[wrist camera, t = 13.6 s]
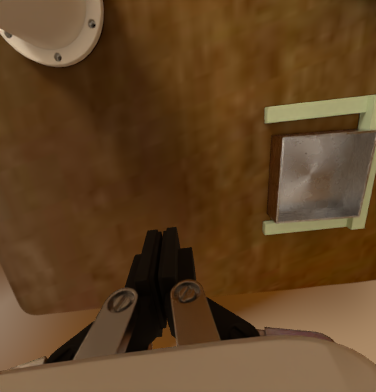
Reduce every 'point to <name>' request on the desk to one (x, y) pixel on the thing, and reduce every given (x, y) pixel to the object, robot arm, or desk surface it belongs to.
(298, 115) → the bracket
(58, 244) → the desk surface
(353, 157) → the baking pan
